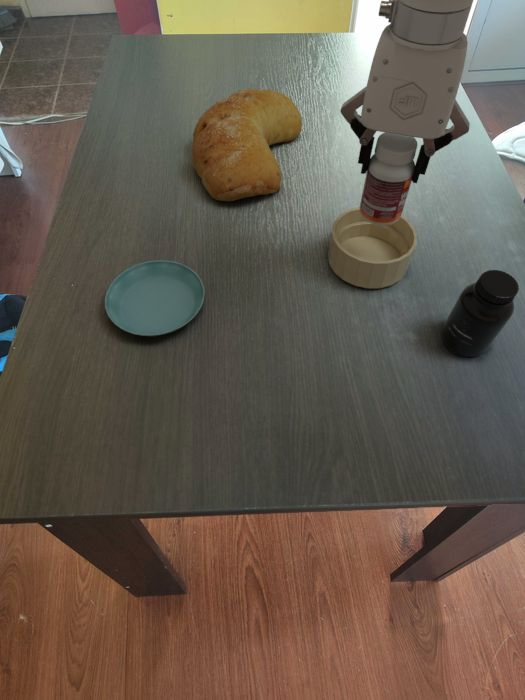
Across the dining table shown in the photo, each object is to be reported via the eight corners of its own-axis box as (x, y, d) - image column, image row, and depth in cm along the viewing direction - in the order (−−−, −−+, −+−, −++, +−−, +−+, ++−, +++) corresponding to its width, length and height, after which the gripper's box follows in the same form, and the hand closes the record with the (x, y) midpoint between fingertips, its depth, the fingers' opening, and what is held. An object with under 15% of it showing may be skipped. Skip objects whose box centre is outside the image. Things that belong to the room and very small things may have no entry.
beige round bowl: (411, 243, 79) (421, 215, 74) (401, 298, 72) (411, 271, 67) (336, 228, 81) (341, 199, 76) (319, 280, 74) (323, 252, 69)
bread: (220, 109, 104) (216, 61, 96) (307, 122, 101) (311, 73, 93) (167, 198, 86) (157, 148, 78) (271, 216, 83) (271, 166, 75)
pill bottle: (402, 228, 67) (424, 157, 57) (359, 226, 67) (374, 154, 58) (399, 201, 70) (419, 129, 61) (358, 199, 71) (372, 127, 61)
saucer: (95, 339, 68) (90, 328, 65) (126, 267, 76) (122, 255, 74) (194, 351, 66) (192, 340, 64) (214, 276, 75) (213, 264, 73)
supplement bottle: (439, 353, 66) (470, 297, 56) (440, 317, 70) (469, 259, 60) (489, 363, 65) (529, 308, 55) (487, 325, 69) (525, 268, 59)
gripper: (339, 24, 48) (321, 177, 62) (516, 46, 45) (453, 201, 59) (353, -3, 52) (333, 147, 66) (515, 15, 49) (456, 168, 64)
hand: (390, 171), depth 63 cm, fingers closed on pill bottle, 6 cm apart
